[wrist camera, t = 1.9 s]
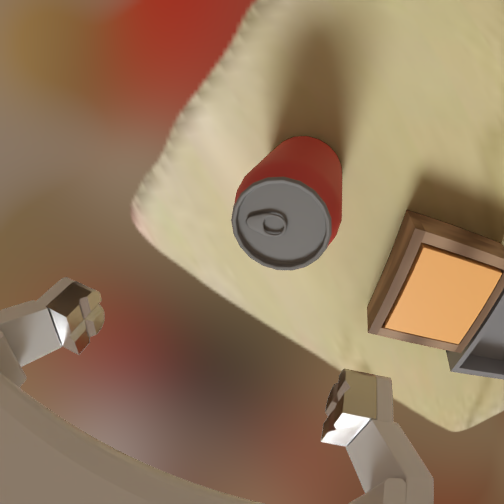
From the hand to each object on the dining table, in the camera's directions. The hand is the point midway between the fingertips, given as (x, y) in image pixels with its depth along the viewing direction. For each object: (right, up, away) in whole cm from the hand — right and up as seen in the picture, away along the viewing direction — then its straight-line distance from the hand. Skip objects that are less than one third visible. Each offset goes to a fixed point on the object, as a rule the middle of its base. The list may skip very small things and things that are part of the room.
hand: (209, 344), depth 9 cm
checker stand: (+20, 0, +19) cm, 27 cm away
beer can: (+6, +10, +18) cm, 21 cm away
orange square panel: (+19, -1, +16) cm, 25 cm away
